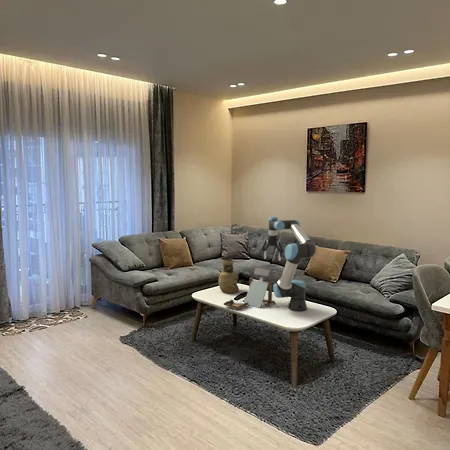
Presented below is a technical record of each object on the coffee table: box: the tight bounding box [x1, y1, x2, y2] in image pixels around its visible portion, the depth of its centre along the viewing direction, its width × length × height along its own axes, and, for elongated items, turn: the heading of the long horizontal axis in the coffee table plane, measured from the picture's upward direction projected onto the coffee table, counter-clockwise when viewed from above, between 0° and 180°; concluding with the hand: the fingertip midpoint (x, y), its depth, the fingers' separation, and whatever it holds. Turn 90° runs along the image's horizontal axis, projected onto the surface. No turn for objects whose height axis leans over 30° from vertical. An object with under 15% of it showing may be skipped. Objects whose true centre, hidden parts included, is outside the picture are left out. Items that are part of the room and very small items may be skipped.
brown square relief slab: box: [222, 298, 249, 311], centre depth 331 cm, size 17×4×15 cm
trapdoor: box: [243, 267, 274, 309], centre depth 340 cm, size 16×33×7 cm
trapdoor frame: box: [248, 277, 276, 307], centre depth 344 cm, size 22×12×20 cm, turn 55°
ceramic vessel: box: [218, 258, 240, 294], centre depth 374 cm, size 19×21×30 cm
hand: (272, 259), depth 343 cm, fingers open, 13 cm apart
